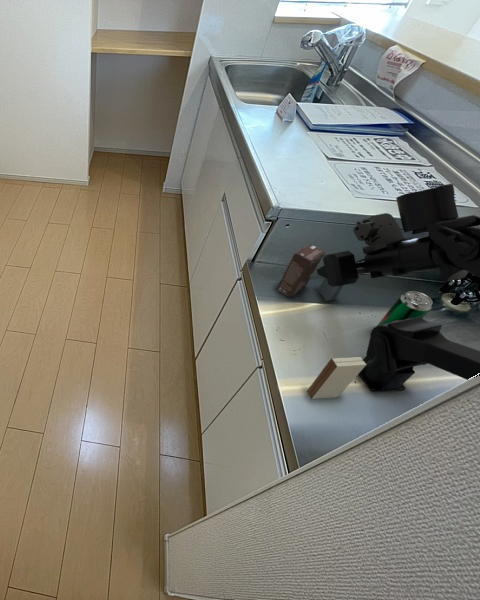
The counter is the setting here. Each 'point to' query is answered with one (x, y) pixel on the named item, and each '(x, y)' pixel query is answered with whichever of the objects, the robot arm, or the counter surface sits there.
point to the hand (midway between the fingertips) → (337, 267)
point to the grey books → (329, 291)
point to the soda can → (408, 307)
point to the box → (300, 270)
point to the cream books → (335, 377)
